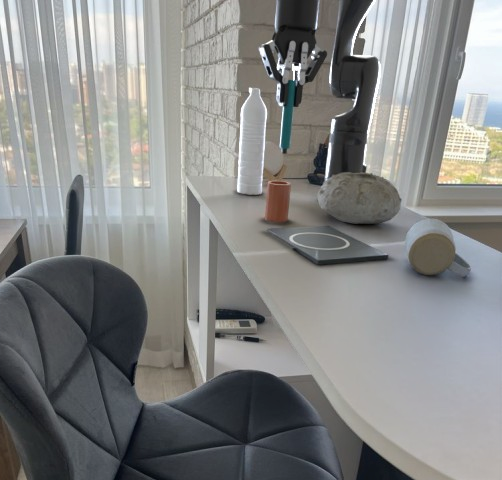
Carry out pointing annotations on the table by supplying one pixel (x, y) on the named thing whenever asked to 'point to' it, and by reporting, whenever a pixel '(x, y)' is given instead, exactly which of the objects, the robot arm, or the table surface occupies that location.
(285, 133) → the marker
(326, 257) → the slate board
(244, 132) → the water bottle
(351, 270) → the table surface
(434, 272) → the ceramic mug
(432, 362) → the table surface
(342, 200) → the grey rounded lump
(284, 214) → the pen cup
